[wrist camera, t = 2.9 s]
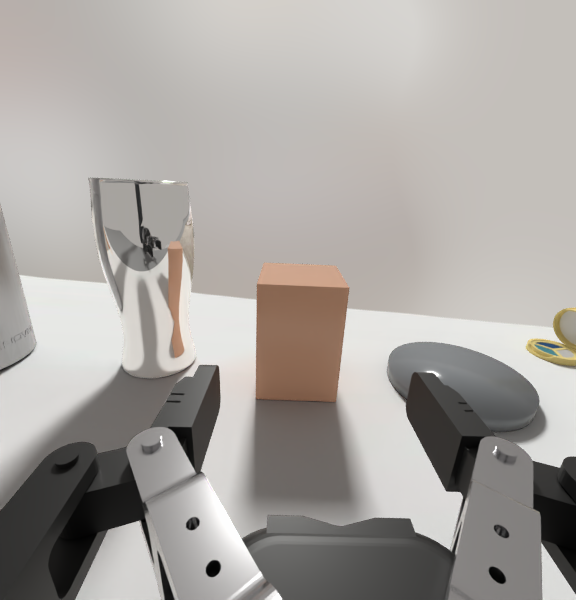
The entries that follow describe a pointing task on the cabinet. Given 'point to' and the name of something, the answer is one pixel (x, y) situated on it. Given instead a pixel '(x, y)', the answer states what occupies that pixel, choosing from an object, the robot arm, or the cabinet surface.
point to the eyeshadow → (569, 329)
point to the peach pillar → (299, 331)
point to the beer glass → (147, 269)
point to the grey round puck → (469, 381)
